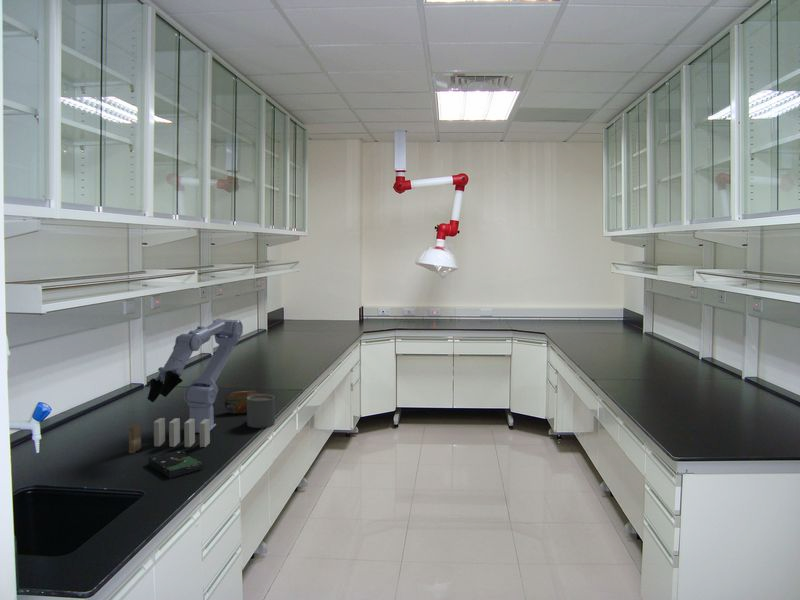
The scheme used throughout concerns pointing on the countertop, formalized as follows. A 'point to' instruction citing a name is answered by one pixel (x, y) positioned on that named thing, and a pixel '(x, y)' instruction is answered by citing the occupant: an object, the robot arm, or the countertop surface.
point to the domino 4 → (204, 432)
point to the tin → (238, 401)
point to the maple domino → (134, 438)
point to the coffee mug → (260, 410)
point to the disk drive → (175, 463)
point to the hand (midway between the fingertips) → (156, 397)
